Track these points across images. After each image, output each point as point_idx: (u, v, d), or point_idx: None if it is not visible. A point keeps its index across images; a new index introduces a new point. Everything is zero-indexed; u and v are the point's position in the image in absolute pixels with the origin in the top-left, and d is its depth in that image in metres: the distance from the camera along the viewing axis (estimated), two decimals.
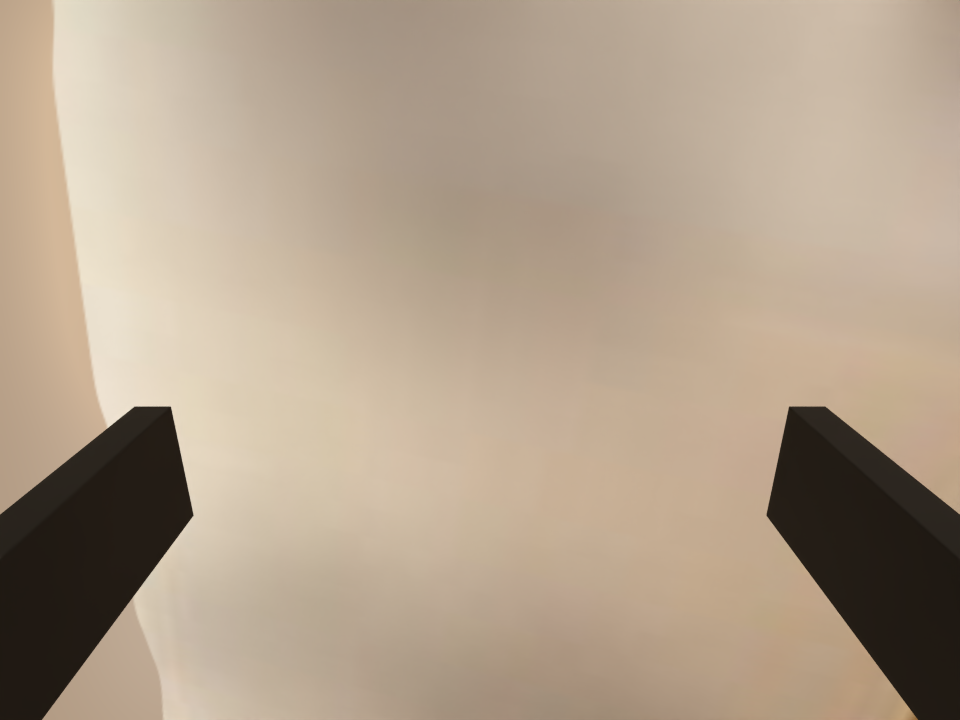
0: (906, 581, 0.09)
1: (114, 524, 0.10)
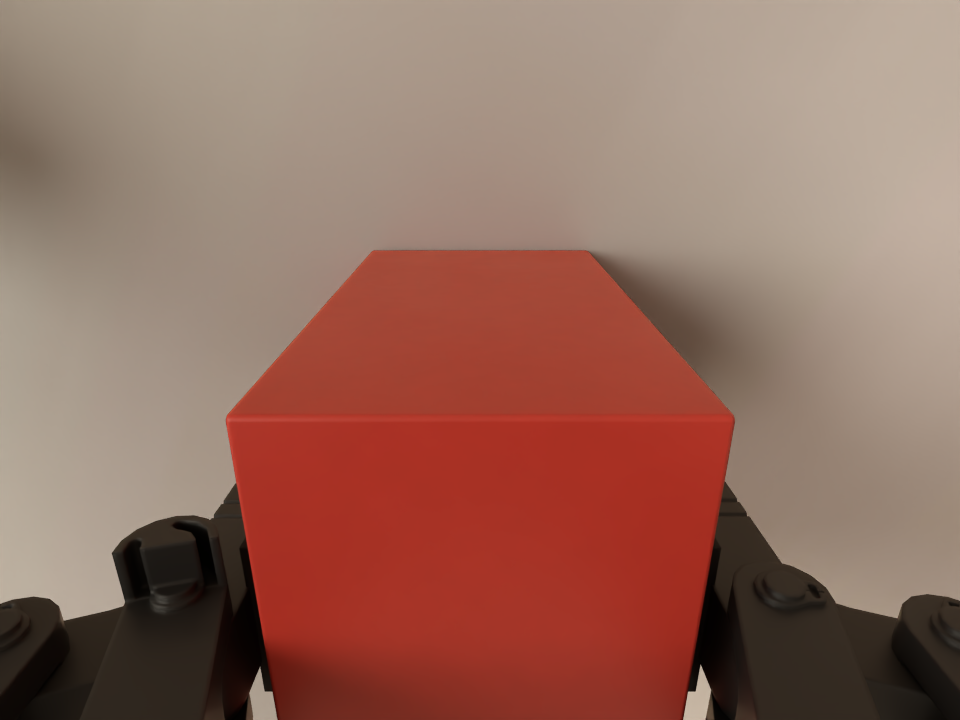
0: None
1: None
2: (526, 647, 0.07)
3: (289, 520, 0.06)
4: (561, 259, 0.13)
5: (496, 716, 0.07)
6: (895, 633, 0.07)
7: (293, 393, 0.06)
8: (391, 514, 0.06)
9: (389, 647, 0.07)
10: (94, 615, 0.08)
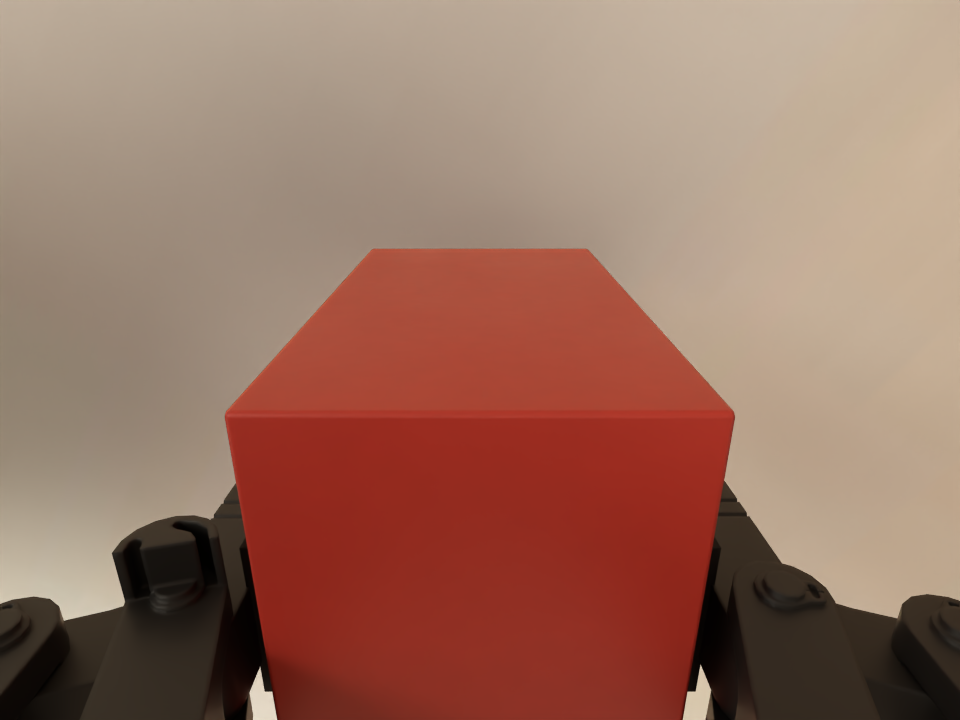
0: None
1: None
2: (525, 644, 0.07)
3: (288, 517, 0.06)
4: (561, 257, 0.13)
5: (496, 713, 0.07)
6: (895, 632, 0.07)
7: (292, 389, 0.06)
8: (391, 510, 0.06)
9: (389, 644, 0.07)
10: (94, 615, 0.08)
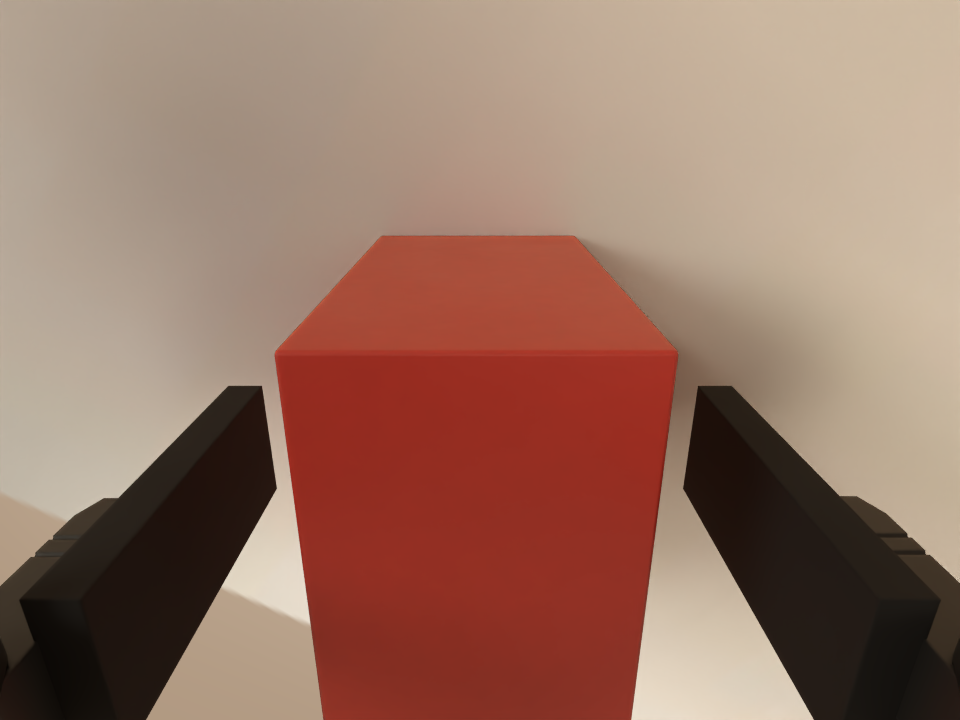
0: (772, 536, 0.10)
1: (225, 490, 0.11)
2: (514, 549, 0.09)
3: (323, 438, 0.08)
4: (550, 243, 0.15)
5: (490, 609, 0.09)
6: None
7: (326, 337, 0.08)
8: (404, 433, 0.08)
9: (402, 548, 0.09)
10: None
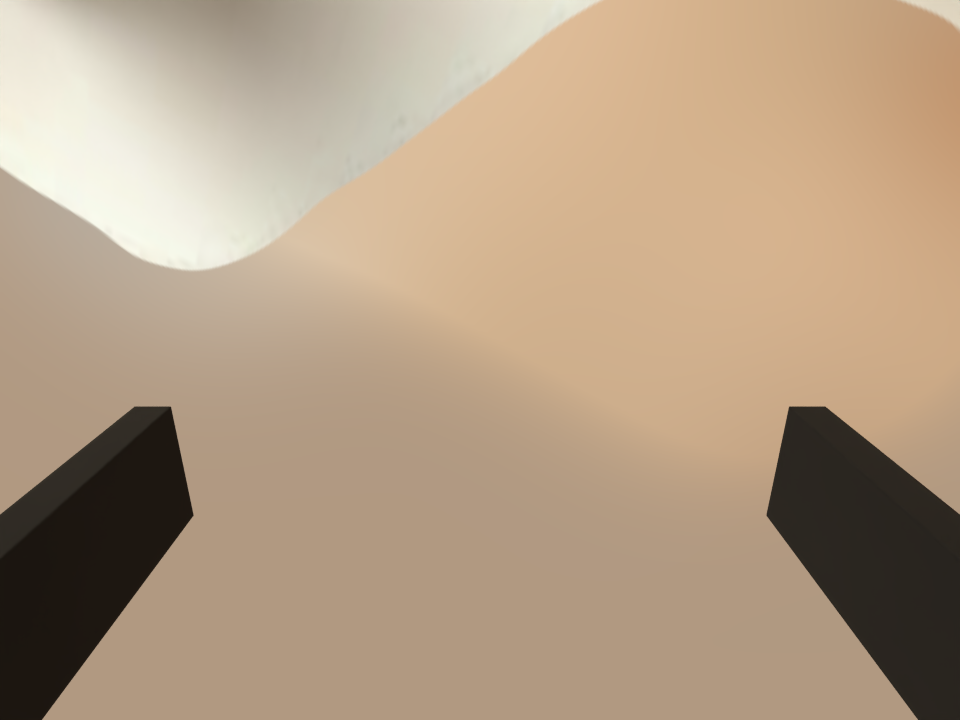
0: (906, 581, 0.09)
1: (114, 524, 0.10)
2: None
3: None
4: None
5: None
6: None
7: None
8: None
9: None
10: None
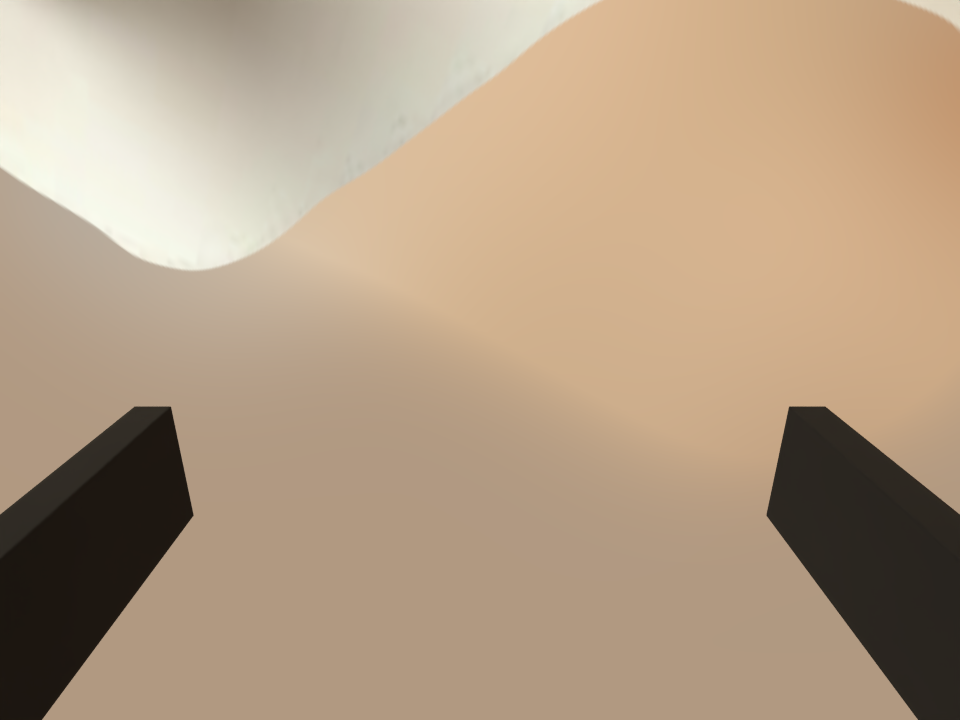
0: (906, 581, 0.09)
1: (114, 524, 0.10)
2: None
3: None
4: None
5: None
6: None
7: None
8: None
9: None
10: None
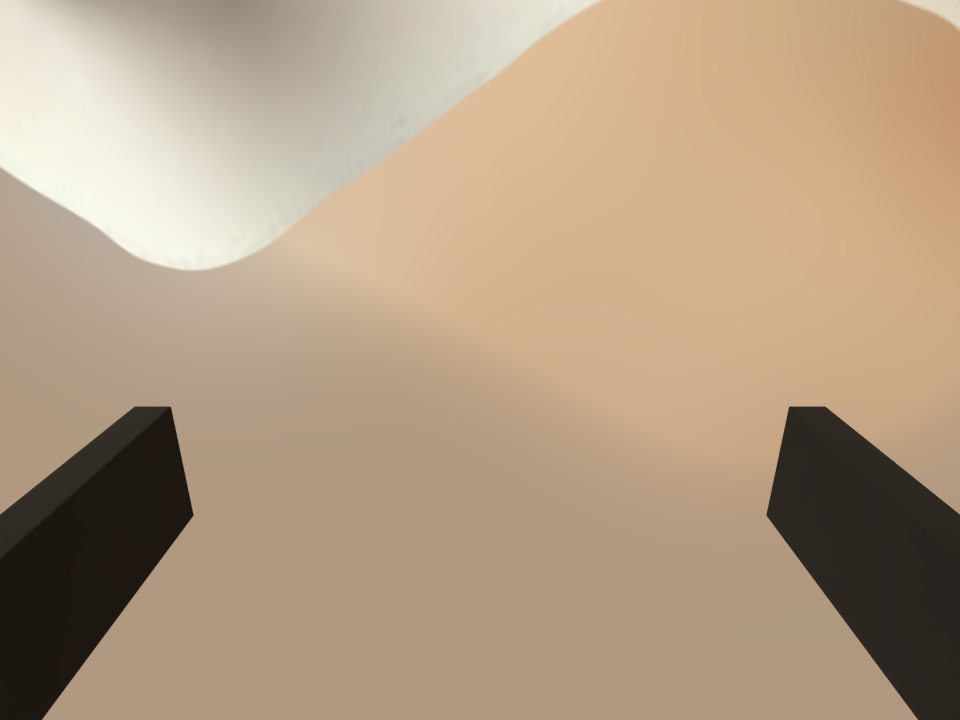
0: (906, 581, 0.09)
1: (114, 524, 0.10)
2: None
3: None
4: None
5: None
6: None
7: None
8: None
9: None
10: None
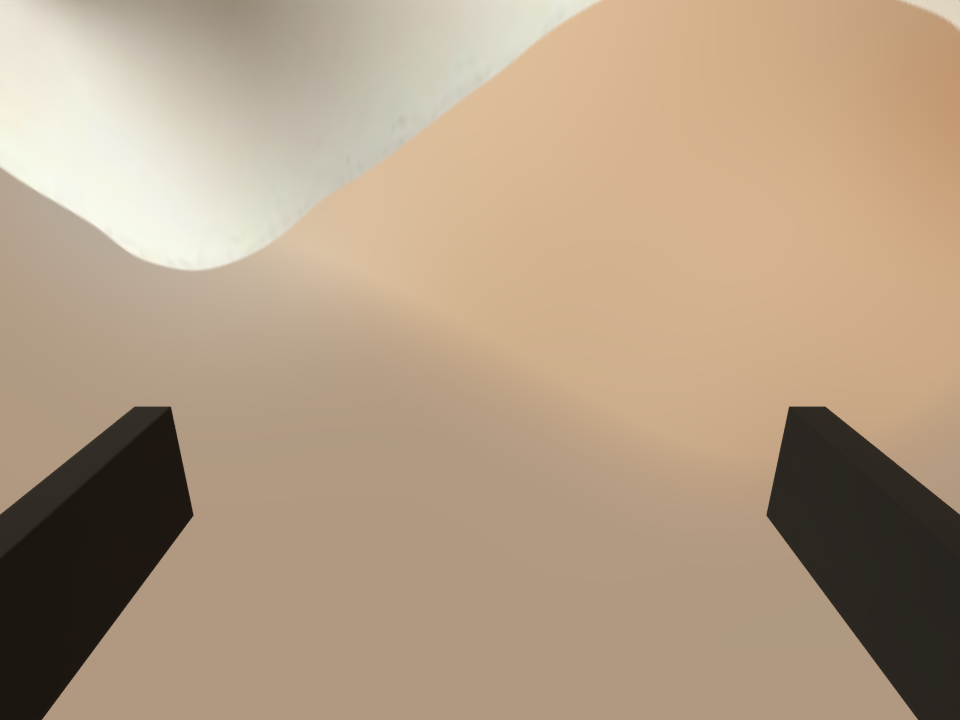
0: (906, 581, 0.09)
1: (114, 524, 0.10)
2: None
3: None
4: None
5: None
6: None
7: None
8: None
9: None
10: None
